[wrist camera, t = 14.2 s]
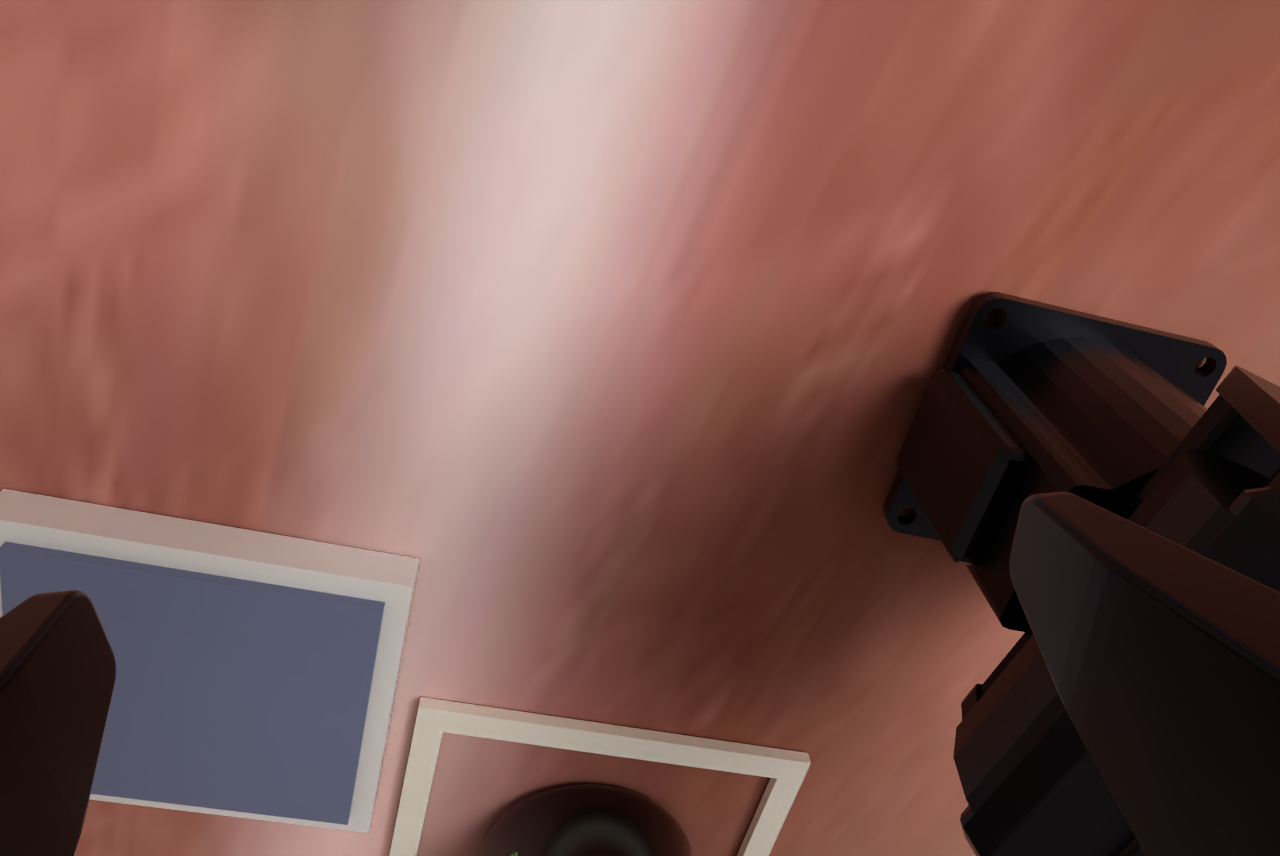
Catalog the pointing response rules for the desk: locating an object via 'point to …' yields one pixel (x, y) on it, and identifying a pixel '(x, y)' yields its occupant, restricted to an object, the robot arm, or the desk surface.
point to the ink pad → (226, 657)
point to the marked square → (600, 739)
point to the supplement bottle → (585, 825)
